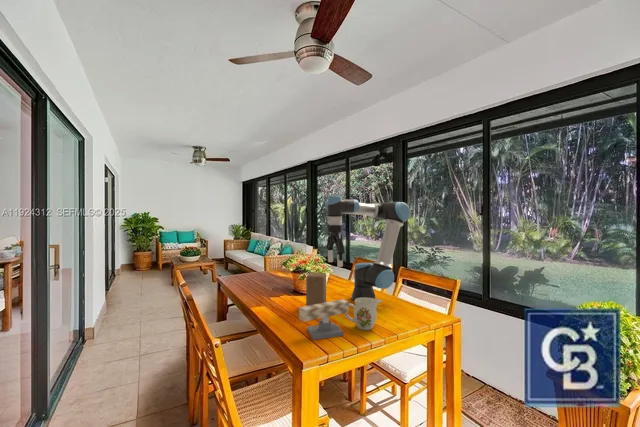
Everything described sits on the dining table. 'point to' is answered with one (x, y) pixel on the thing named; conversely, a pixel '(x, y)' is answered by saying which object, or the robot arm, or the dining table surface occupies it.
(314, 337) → the fulcrum
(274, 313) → the dining table surface
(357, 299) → the floral ceramic pitcher
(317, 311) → the batten
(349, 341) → the dining table surface
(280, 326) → the dining table surface
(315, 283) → the wooden block
